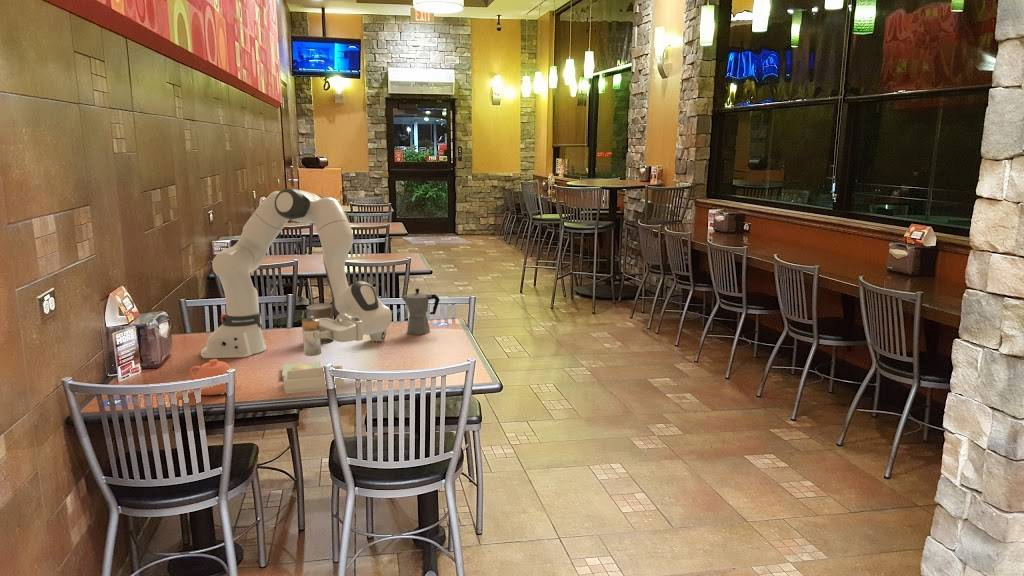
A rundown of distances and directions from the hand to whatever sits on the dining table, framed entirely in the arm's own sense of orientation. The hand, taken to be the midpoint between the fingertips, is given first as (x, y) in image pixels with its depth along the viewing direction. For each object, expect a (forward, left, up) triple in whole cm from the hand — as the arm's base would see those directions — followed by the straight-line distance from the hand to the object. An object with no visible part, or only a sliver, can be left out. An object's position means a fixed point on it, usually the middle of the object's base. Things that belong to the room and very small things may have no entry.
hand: (308, 334), depth 216 cm
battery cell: (+1, 0, -6) cm, 7 cm away
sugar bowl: (-29, +3, -17) cm, 34 cm away
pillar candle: (+4, +53, -17) cm, 56 cm away
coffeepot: (+43, +54, -17) cm, 71 cm away
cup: (+25, +47, -17) cm, 56 cm away
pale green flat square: (-3, +14, -17) cm, 22 cm away
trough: (+1, 0, -17) cm, 17 cm away
